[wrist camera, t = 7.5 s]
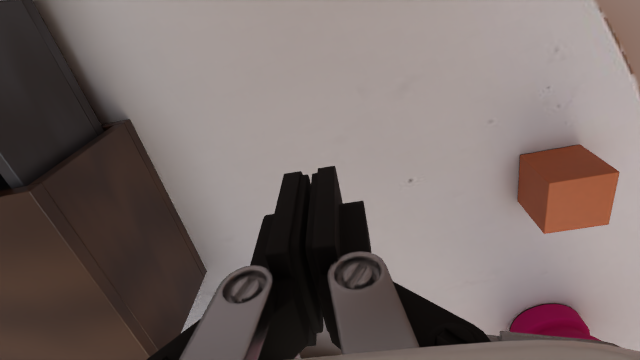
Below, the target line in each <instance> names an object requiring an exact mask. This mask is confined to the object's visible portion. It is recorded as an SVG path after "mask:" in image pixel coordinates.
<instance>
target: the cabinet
mask: <svg viewBox="0 0 640 360" xmlns="http://www.w3.org/2000/svg"><path fill="white" fill-rule="evenodd" d="M101 126H102V128H103V130H104V133H102V134H101V135H99V136H98V137H96V138H95V139H94V140H92V141H91V142H89V143H88V144H86V145H85V146H83V147H82V148H81V149H79V150H78V151H76V152H75V153H73V154H72V155H71V156H69V157H68V158H66V159H65V160H63V161H62V162H61V163H59V164H58V165H56V166H55V167H53V168H52V169H51V170H49V171H48V172H46V173H45V174H43V175H42V176H41V177H39V178H38V179H36V180H35V181H33V182H32V183H31V184H29V185H28V186H23V187H18V188H13V189H8V190H3V191H0V360H146V359H148V358H149V357H150V356H152V355H153V354H154V353H156V352H157V351H158V350H160V349H161V348H162V347H164V346H165V345H166V344H168V343H169V342H170V341H172V340H173V339H174V338H176V337H177V336H178V335H180V334H181V331H182V329H183V327H184V324H185V322H186V320H187V317H188V315H189V312H190V310H191V308H192V305H193V303H194V301H195V298H196V296H197V293H198V291H199V289H200V286H201V284H202V282H203V279H204V277H205V274H206V272H207V271H206V269H205V267H204V265H203V263H202V261H201V259H200V257H199V255H198V253H197V251H196V250H195V248H194V246H193V244H192V242H191V240H190V238H189V236H188V234H187V232H186V230H185V228H184V226H183V224H182V222H181V220H180V218H179V216H178V214H177V212H176V210H175V208H174V206H173V204H172V202H171V200H170V198H169V196H168V194H167V192H166V190H165V188H164V186H163V184H162V182H161V180H160V178H159V176H158V174H157V172H156V171H155V169H154V167H153V165H152V163H151V161H150V159H149V157H148V155H147V153H146V151H145V149H144V147H143V145H142V143H141V141H140V139H139V137H138V135H137V133H136V131H135V129H134V127H133V125H132V123H131V121H130V120H129V119H127V120H123V121H118V122H114V123H109V124H104V125H101Z"/></svg>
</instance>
